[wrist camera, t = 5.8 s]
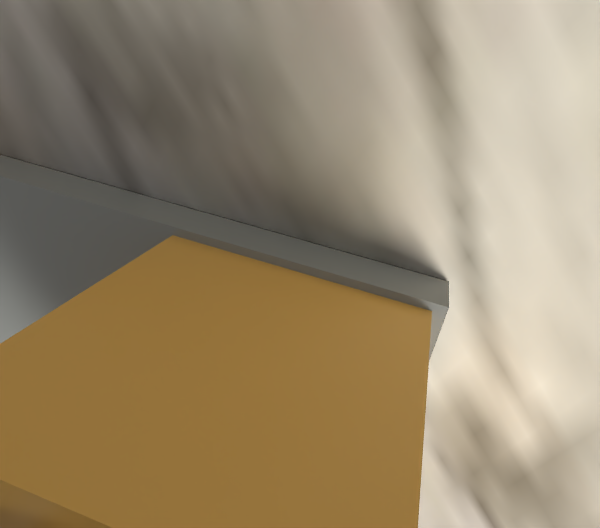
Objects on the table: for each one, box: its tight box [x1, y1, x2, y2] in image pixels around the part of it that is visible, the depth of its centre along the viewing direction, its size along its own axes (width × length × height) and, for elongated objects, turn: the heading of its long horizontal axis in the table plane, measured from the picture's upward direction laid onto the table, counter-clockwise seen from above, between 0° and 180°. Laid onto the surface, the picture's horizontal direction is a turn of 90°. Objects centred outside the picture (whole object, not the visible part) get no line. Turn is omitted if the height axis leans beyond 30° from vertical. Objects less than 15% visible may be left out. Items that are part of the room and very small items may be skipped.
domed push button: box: [0, 235, 432, 528], centre depth 8 cm, size 6×6×7 cm
